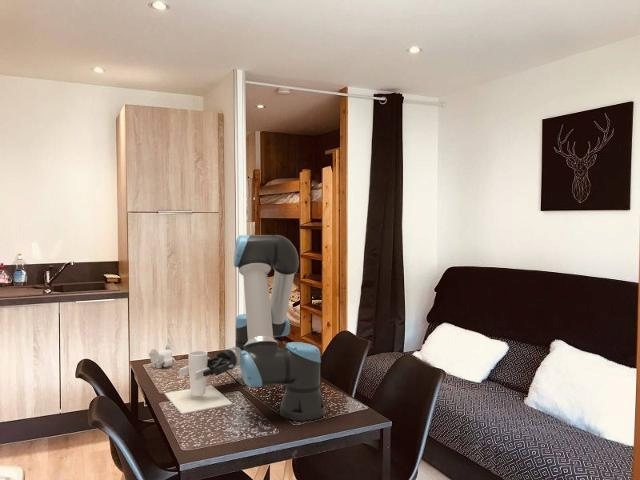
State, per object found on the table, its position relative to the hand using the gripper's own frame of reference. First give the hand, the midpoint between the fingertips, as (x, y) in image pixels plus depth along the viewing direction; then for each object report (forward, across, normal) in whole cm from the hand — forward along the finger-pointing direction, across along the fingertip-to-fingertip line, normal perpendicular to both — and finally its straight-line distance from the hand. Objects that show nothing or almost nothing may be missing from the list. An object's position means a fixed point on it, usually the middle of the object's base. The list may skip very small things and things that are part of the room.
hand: (188, 374), depth 175 cm
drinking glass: (-5, 0, -9) cm, 10 cm away
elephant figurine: (-27, +40, -11) cm, 50 cm away
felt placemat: (-5, 0, -10) cm, 12 cm away
